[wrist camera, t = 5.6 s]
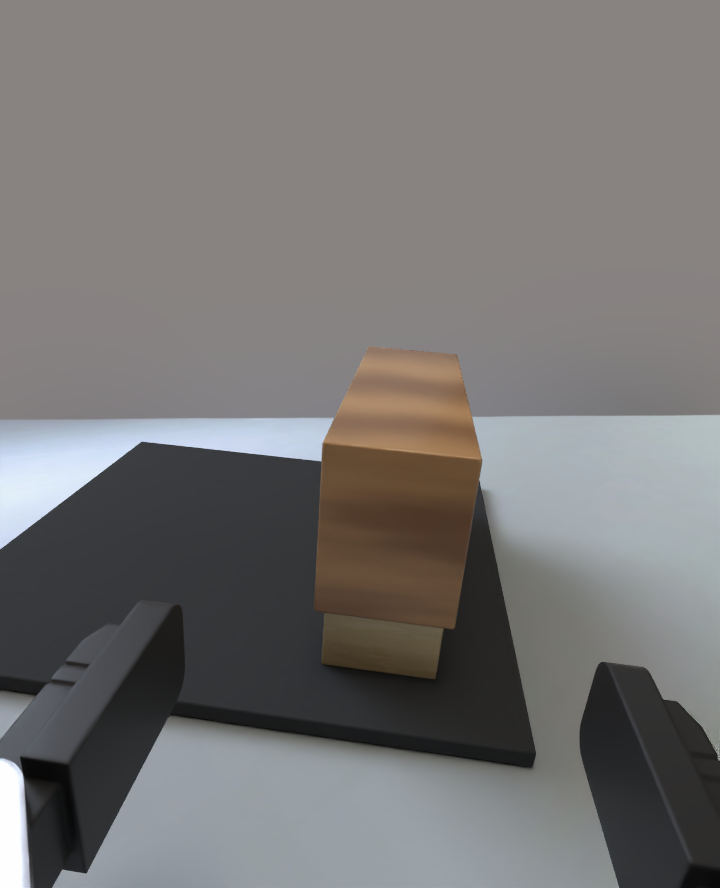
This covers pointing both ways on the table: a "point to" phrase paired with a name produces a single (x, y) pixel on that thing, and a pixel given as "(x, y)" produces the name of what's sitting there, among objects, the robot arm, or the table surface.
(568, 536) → the table surface
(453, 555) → the tall wood grain block
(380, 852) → the table surface
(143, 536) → the mat
